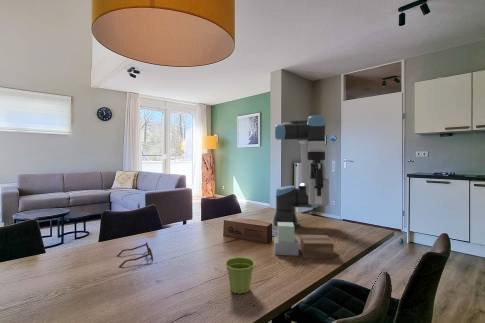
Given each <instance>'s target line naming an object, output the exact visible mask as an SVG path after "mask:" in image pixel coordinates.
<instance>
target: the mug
mask: <svg viewBox="0 0 485 323" xmlns="http://www.w3.org/2000/svg"><path fill="white" fill-rule="evenodd" d="M323 185H324V186H323V188H322V204H315V188H314V187H315V186H316V183H315V178H311V179H309V182H308V183H307V184H306V193H307V195H308V196H309V204H310V205H314V206H318V207H327V206H329V204H330V198H329V195H330V180H329V179H328V178H323Z"/></svg>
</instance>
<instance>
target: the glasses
mask: <svg viewBox="0 0 485 323" xmlns="http://www.w3.org/2000/svg"><path fill="white" fill-rule="evenodd" d="M145 246H146V247H145ZM143 247H145V248H146V250H147V252H148V253H146V254H144V255H141V256H139V257H136V258H130V259H125V260H124V261H123V262H121V264H120V265H119V266H118V268H121V267H122V266H124V264H126V263H127V262H132V261H134V262H135V261H138V260H140V259H143V258H145V257H146V258H147V257H148V256H150V258H151V260H154V257H153V252H152V249H151V247H150V246H149V244H148V242H147V241H146V242H145V244H141V245H139V246H136V247H134V248H126V249H122V250H121V251H120V252H119V253H118V254H117V255H116V257H119V256H120V255H121V254H122V253H124V252H126V251H134V250H137V249H139V248H140V249H141V248H143Z"/></svg>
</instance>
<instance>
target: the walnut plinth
mask: <svg viewBox="0 0 485 323" xmlns="http://www.w3.org/2000/svg"><path fill="white" fill-rule="evenodd" d="M299 235H300V237H299V240H300V241H299V246H300V250H301V254H302V256H303V258H305V259H306V258H308V259H309V258H310V259H334V242H333V241H332V240H331V239H330V237H329V236H328V235H327V234H299Z"/></svg>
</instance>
